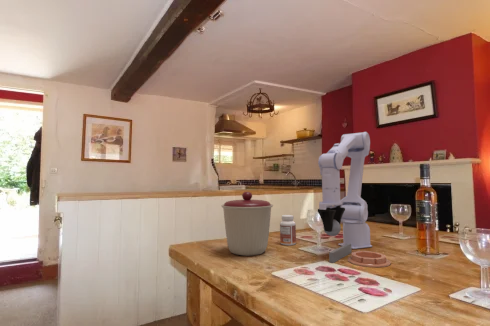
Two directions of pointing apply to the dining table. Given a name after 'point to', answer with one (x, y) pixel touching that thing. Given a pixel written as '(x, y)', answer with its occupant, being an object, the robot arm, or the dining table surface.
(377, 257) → the bowl
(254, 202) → the canister
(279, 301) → the dining table surface
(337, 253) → the low wall
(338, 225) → the ball
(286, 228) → the pill bottle
